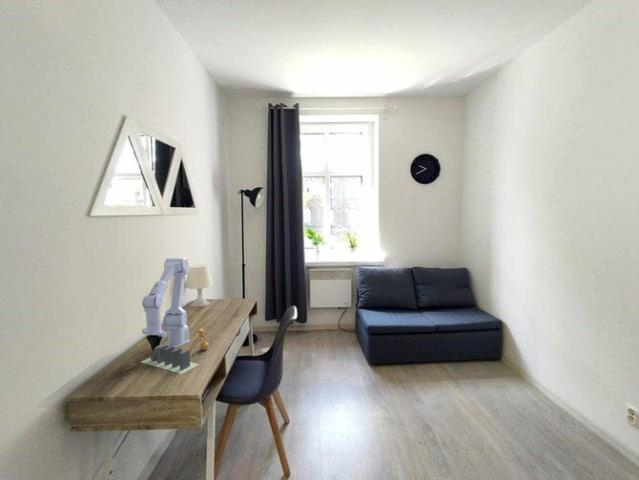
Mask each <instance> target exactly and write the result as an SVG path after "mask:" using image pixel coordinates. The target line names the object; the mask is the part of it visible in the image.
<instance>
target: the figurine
mask: <svg viewBox="0 0 639 480" xmlns="http://www.w3.org/2000/svg"><path fill="white" fill-rule="evenodd" d="M196 333H198V338H200V342H201V343H200V345H199V348H200V350H202V351H206V350H208V349H209V346H210V345H209V342H207V341H206V339H207V337H206V336H205V334H207V336H209V337H210V338H211V335H210V334H209V333H208V332H207V331H205V330H203V327H200V328H199V329H198V330H196V331H194V335H193V337H196Z"/></svg>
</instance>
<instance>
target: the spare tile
mask: <svg viewBox="0 0 639 480" xmlns="http://www.w3.org/2000/svg"><path fill="white" fill-rule="evenodd" d="M166 344H167V343H165V344H163V345H162V344H161V345H162V346H159V347H157V362H158V363H162V362H164V349H165V348H167V347H168V345H166Z"/></svg>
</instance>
